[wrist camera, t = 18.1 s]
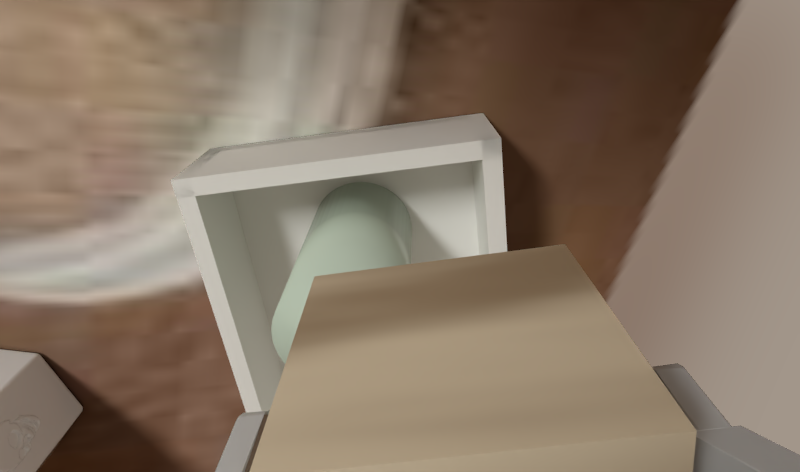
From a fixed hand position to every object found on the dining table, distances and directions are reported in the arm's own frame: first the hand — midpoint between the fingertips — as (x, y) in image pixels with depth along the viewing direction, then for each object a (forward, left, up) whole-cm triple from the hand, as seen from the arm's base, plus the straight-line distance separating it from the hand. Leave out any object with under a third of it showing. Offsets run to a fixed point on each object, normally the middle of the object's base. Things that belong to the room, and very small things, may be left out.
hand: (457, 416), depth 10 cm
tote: (+7, -4, -18) cm, 20 cm away
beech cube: (0, 0, -2) cm, 2 cm away
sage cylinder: (+3, -3, -17) cm, 18 cm away
